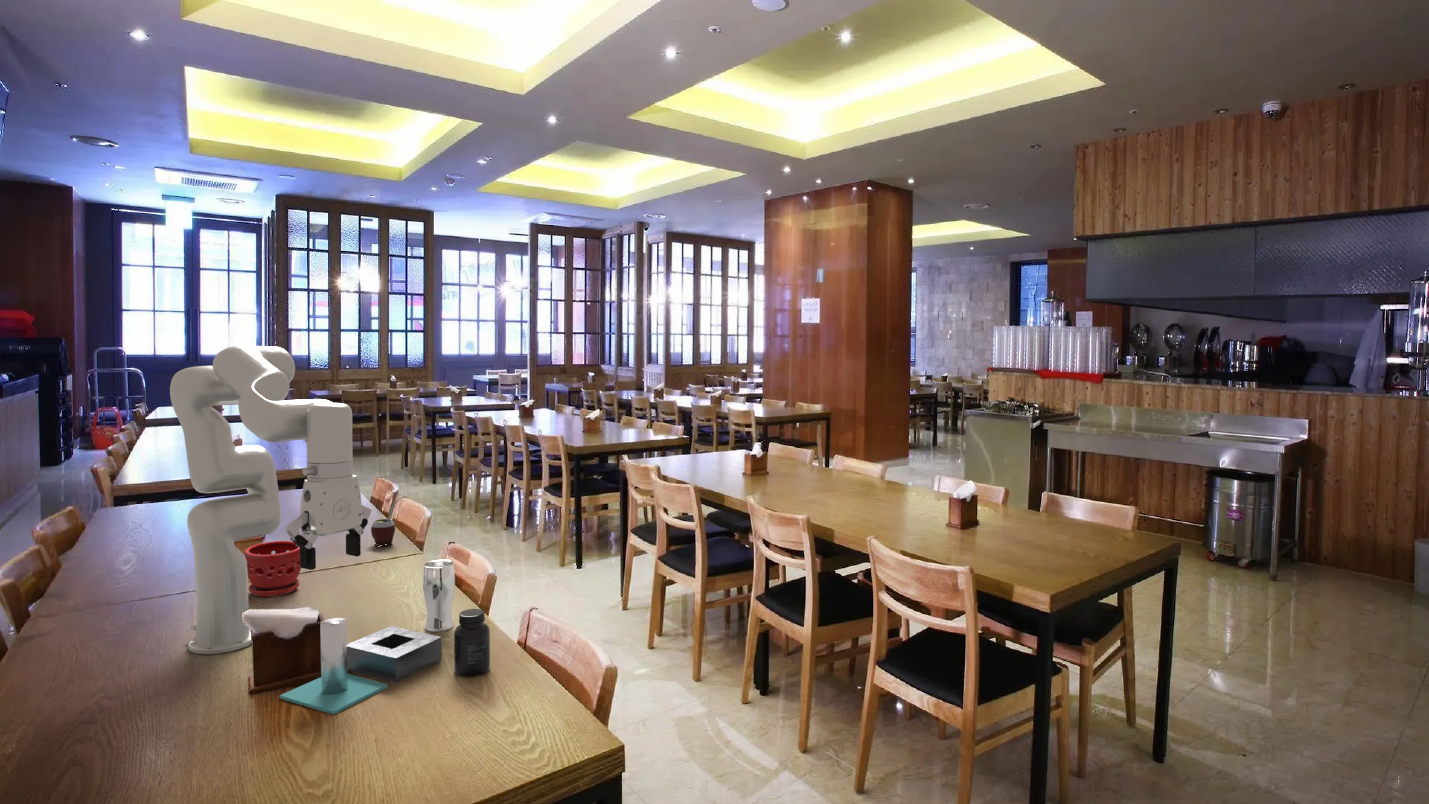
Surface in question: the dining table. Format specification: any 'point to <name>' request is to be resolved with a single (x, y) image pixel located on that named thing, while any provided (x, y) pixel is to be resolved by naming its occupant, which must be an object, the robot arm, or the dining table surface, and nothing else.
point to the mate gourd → (384, 529)
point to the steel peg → (334, 656)
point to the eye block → (393, 654)
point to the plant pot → (273, 568)
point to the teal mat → (333, 703)
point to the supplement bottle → (471, 644)
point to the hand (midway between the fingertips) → (331, 561)
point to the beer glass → (438, 594)
